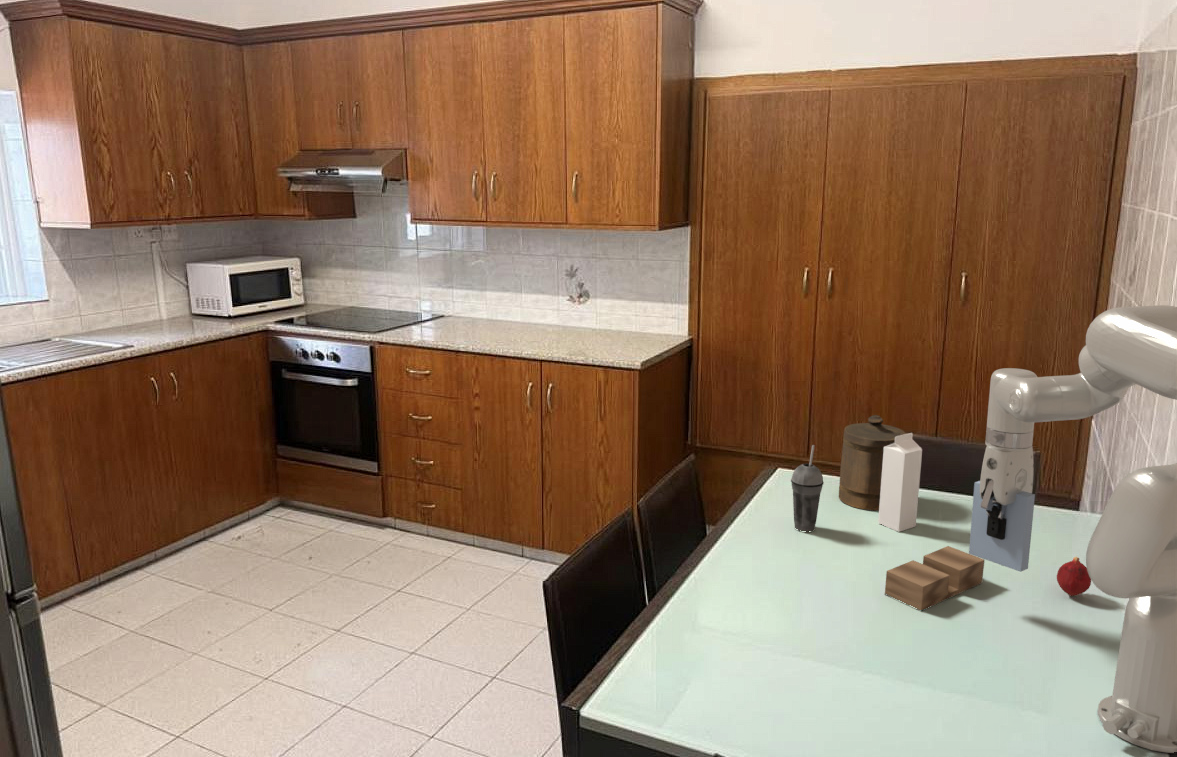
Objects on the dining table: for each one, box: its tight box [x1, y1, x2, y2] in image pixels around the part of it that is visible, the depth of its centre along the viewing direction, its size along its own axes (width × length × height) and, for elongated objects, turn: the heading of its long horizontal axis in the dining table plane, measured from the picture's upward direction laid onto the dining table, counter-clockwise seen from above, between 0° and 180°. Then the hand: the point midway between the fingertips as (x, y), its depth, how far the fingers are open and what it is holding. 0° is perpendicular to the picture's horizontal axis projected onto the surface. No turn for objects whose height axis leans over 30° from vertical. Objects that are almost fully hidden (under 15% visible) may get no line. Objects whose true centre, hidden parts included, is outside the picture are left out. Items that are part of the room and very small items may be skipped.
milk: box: [877, 432, 923, 533], centre depth 197 cm, size 6×6×22 cm
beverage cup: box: [790, 444, 825, 533], centre depth 195 cm, size 7×7×20 cm
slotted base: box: [884, 545, 985, 611], centre depth 168 cm, size 20×8×5 cm, turn 124°
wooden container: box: [838, 414, 907, 512], centre depth 213 cm, size 15×15×22 cm
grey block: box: [968, 480, 1036, 572], centre depth 156 cm, size 2×10×14 cm, turn 34°
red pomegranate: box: [1056, 556, 1092, 597], centre depth 164 cm, size 6×6×8 cm
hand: (1000, 534), depth 156 cm, fingers closed on grey block, 2 cm apart
